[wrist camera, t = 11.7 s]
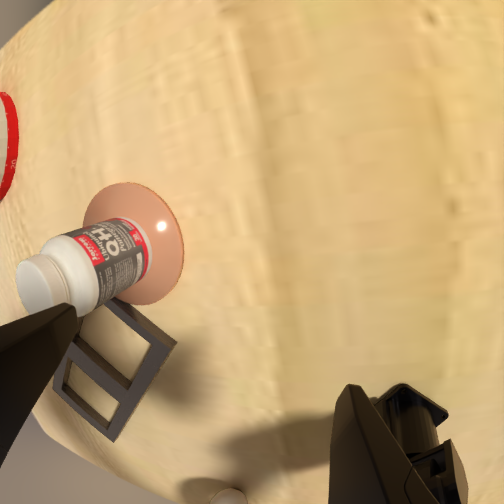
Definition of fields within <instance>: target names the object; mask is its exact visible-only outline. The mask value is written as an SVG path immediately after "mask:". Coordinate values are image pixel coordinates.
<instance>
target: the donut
mask: <svg viewBox="0 0 504 504" xmlns="http://www.w3.org/2000/svg"><path fill="white" fill-rule="evenodd" d="M209 504H248V502H247V499H246V497H245V495H244V494H243V493H242V492H241V491H239V490H236V489H233V488H227V489H224V490H222V491H220V492H218V493H217V494H216V495H215V496H214V497H213V498H212V500H211V501H210V503H209Z"/></svg>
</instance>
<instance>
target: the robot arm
mask: <svg viewBox="0 0 504 504" xmlns="http://www.w3.org/2000/svg"><path fill="white" fill-rule="evenodd" d="M77 330H78V318H77V312H76V308H75V306H74V305H71V304H69V303H66V302H64V303H61V304H58V305H55V306H53V307H50V308H47V309H45V310H42V311H39V312H37V313H34V314H31V315H29V316H26V317H23V318H21V319H18V320H16V321H13V322H10V323H8V324H5V325H2V326H0V467H1V465H2V463H3V461H4V460H5V458H6V456H7V453H8V452H9V449H10V448H11V446H12V444H13V442H14V440H15V438H16V437H17V435H18V433H19V431H20V429H21V428H22V426H23V424H24V422H25V421H26V419H27V417H28V415H29V414H30V412H31V410H32V409H33V407H34V405H35V403H36V402H37V400H38V398H39V397H40V395H41V394H42V392H43V390H44V389H45V387H46V385H47V384H48V382H49V381H50V379H51V377H52V376H53V374H54V373H55V371H56V370H57V368H58V366H59V365H60V363H61V361H62V359H63V357H64V355H65V353H66V351H67V349H68V347H69V345H70V344H71V342H72V340H73V338H74V336H75V334H76V332H77ZM403 389H406V390H404V391H401V390H403ZM448 416H449V415H448V411H447V410H445V409H444V408H442V407H441V406H439V405H438V404H436V403H435V402H433V401H432V400H430V399H429V398H427V397H426V396H424V395H423V394H421V393H420V392H418V391H417V390H415V389H414V388H412V387H411V386H409V385H408V384H401V385H400V386H398V387H397V388H396V389H395V390H394V391H393V392H391V393H390V394H389V395H388V396H387V397H385V398H384V399H383V400H381V401H380V402H379V403H377V404H376V405H375V406H373V404H372V403H371V401H370V400H369V398H368V397H367V395H366V393H365V392H364V390H363V389H362V387H361V386H359V385H354V384H347V385H346V387H345V388H344V390H343V391H342V393H341V394H340V396H339V398H338V399H337V402H336V406H335V414H334V422H333V430H332V437H331V445H330V475H329V499H328V504H467V502H468V483H467V479H466V475H465V471H464V467H463V464H462V462H461V460H460V457H459V455H458V453H457V451H456V449H455V447H454V445H453V442H452V440H451V439H448V440H446V441H444V443H443V444H441V445H439V440H438V435H437V431H436V427H437V426H438V425H440V424H441V423H442V422H443V421H445V420H446V419H447V418H448Z"/></svg>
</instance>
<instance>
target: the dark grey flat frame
mask: <svg viewBox="0 0 504 504" xmlns="http://www.w3.org/2000/svg"><path fill="white" fill-rule="evenodd" d="M103 304H104V305H105V306H106V307H107V308H109V309H110V310H111V311H112V312H113V313H114V314H115V315H117V316H118V317H119V318H120V319H121V320H122V321H123V322H125V323H126V324H127V325H128V326H129V327H131V328H132V329H133V330H134V331H135V332H137V333H138V334H139V335H140V336H141V337H143V338H144V339H145V340H146V341H148V342H149V343H150V344H151V345H153V346H152V347H151V349H150V351H149V353H148V355H147V357H146V358H145V360H144V362H143V364H142V366H141V368H140V369H139V371H138V373H137V375H136V377H135V379H134V381H133V382H132V383H131V382H130V381H129V380H128V379H127V378H125V377H124V376H123V375H122V374H121V373H119V372H118V371H117V370H116V369H115V368H113V367H112V366H111V365H110V364H109V363H108V362H106V361H105V360H104V359H103V358H102V357H101V356H100V355H99V354H97V353H96V352H95V351H94V350H93V349H92V348H91V347H90V346H89V345H88V344H87V343H86V342H84V341H83V340H82V339H81V338H80V337H79V332H80V328H81V325H82V321H83V318H84V316H81V317H77V318H78V330H77V332H76V334H75V336H74V338H73V340H72V342H71V344H70V345H69V347H68V349H67V351H66V353H65V355H64V357H63V359H62V361H61V363H60V365H59V366H58V368H57V370H56V371H55V375H54V381H53V390H54V391H55V392H56V393H57V394H58V395H59V396H60V397H61V398H62V399H64V400H65V401H66V402H67V403H68V404H69V405H70V406H71V407H72V408H73V409H74V410H75V411H76V412H77V413H79V414H80V415H81V416H82V417H83V418H84V419H85V420H87V421H88V422H89V423H90V424H91V425H92V426H94V427H95V428H96V429H97V430H98V431H100V432H101V433H102V434H103V435H104V436H106V437H107V438H108V439H109V440H111V441H112V442H113V443H114V442H115V441H116V440H117V438H118V437H119V435H120V434H121V432H122V431H123V429H124V427H125V426H126V424H127V422H128V421H129V419H130V418H131V416H132V414H133V413H134V411H135V409H136V408H137V406H138V405H139V403H140V401H141V400H142V398H143V397H144V395H145V393H146V392H147V390H148V389H149V387H150V385H151V384H152V382H153V381H154V379H155V377H156V376H157V374H158V373H159V371H160V369H161V368H162V366H163V365H164V363H165V361H166V360H167V358H168V357H169V355H170V353H171V352H172V350H173V349H174V347H175V346H176V344H177V341H175V340H174V339H173V338H171V337H170V336H169V335H167V334H166V333H165V332H164V331H162V330H161V329H160V328H158V327H157V326H156V325H155V324H153V323H152V322H151V321H150V320H148V319H147V318H146V317H145V316H144V315H142V314H141V313H140V312H139V311H137V310H136V309H135V308H134V307H133V306H131V305H130V304H129V303H127V302H124V301H122V300H120V299H118V298H116V297H115V296H114V297H113V298H111V299H110V300H108V301H107V302H105V303H103ZM72 361H73V362H74V363H75V364H76V365H77V366H78V367H79V368H80V369H82V370H83V371H84V372H85V373H86V374H87V375H88V376H89V377H90V378H91V379H92V380H94V381H95V382H96V383H97V384H98V385H99V386H100V387H102V388H103V389H104V390H105V391H106V392H107V393H109V394H110V395H111V396H112V397H113V398H115V399H116V400H117V401H118V402H119V403H121V405H120V407H119V409H118V411H117V413H116V415H115V417H114V419H113V420H112V422H111V423H109V422H108V421H107V420H106V419H105V418H103V417H102V416H101V415H100V414H99V413H97V412H96V411H95V410H94V409H93V408H92V407H90V406H89V405H88V404H87V403H86V402H85V401H84V400H83V399H81V398H80V397H79V396H78V395H77V394H76V393H75V392H74V391H73V390H72V389H71V388H70V387H69V386H68V385H67V381H68V377H69V372H70V368H71V364H72Z"/></svg>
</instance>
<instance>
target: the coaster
mask: <svg viewBox="0 0 504 504" xmlns="http://www.w3.org/2000/svg"><path fill="white" fill-rule="evenodd" d="M115 217H126V218H129V219H132V220H133V221H135V222H136V223H138V224H139V225H140V226H141V227H142V228H143V230H144V231H145V233H146V235H147V236H148V238H149V241H150V244H151V247H152V264H151V268H150V270H149V272H148V273H147V275H146V276H145V277H144V278H143V279H141V280H140V281H138V282H137V283H135V284H134V285H132V286H131V287H129V288H127V289H126V290H124V291H122V292H121V293H119V294H118V295H116V296H115V297H116V298H118V299H120V300H122V301H124V302H127V303H130V304H134V305H148V304H152V303H155V302H157V301H159V300H161V299H162V298H163V297H164V296H166V295H167V294H168V293H169V292H170V291H171V290H172V289H173V288H174V287H175V285H176V284H177V282H178V280H179V278H180V275H181V272H182V269H183V263H184V244H183V239H182V234H181V231H180V227H179V225H178V222H177V220H176V218H175V216H174V214H173V213H172V211H171V209H170V208H169V207H168V205H167V204H166V203H165V201H164V200H163V199H162V198H161V197H160V196H159V195H157V194H156V193H155V192H154V191H152V190H150V189H149V188H147V187H145V186H143V185H140V184H136V183H129V182H126V183H118V184H113V185H110V186H108V187H106V188H104V189H103V190H101V191H100V192H99V193H98V194H97V195H96V196H95V197H94V198H93V199H92V201H91V202H90V204H89V206H88V208H87V211H86V213H85V217H84V221H83V227H86V226H89V225H92V224H96V223H99V222H101V221H105V220H108V219H112V218H115Z"/></svg>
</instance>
